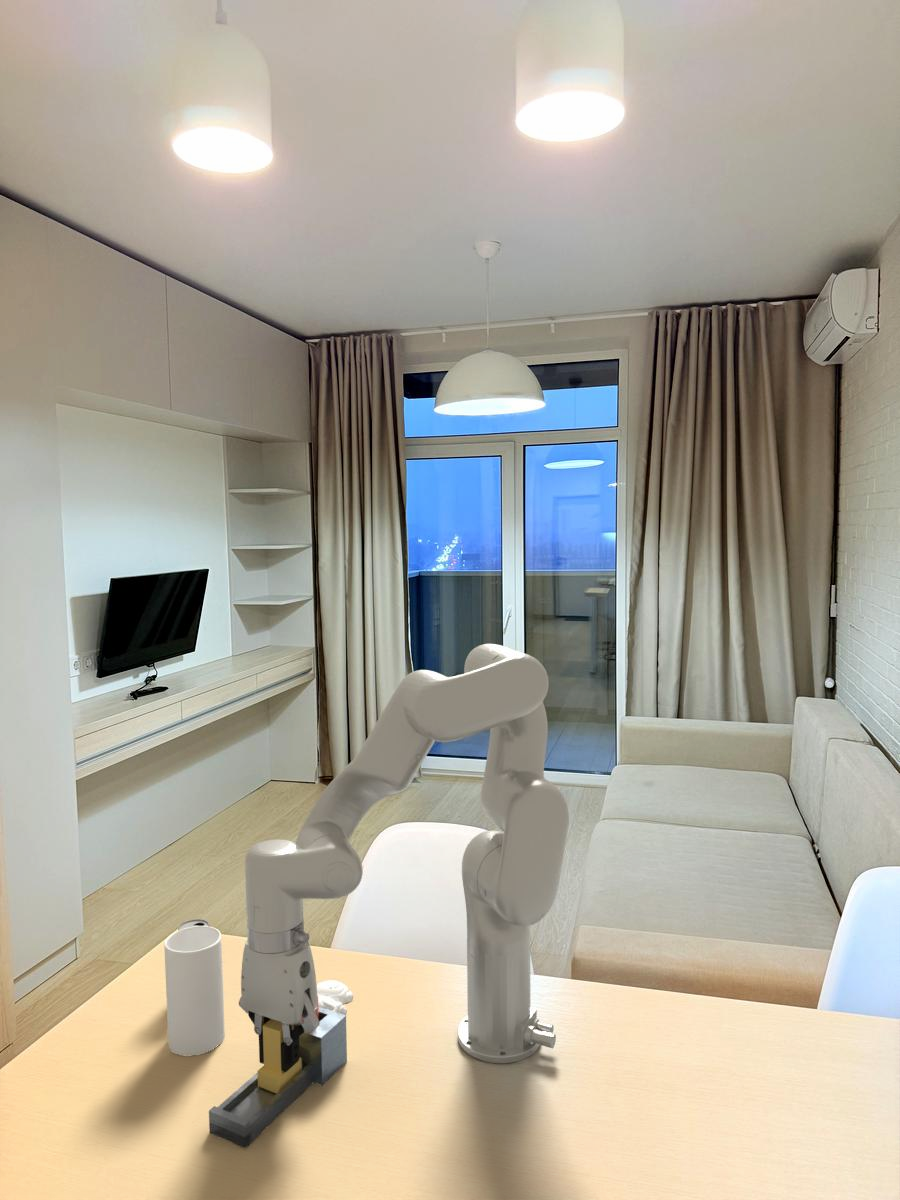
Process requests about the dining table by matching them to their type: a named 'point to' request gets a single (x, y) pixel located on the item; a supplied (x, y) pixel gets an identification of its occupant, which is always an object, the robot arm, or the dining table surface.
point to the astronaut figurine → (333, 996)
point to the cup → (194, 990)
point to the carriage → (275, 1059)
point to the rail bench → (260, 1107)
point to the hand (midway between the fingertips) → (279, 1060)
